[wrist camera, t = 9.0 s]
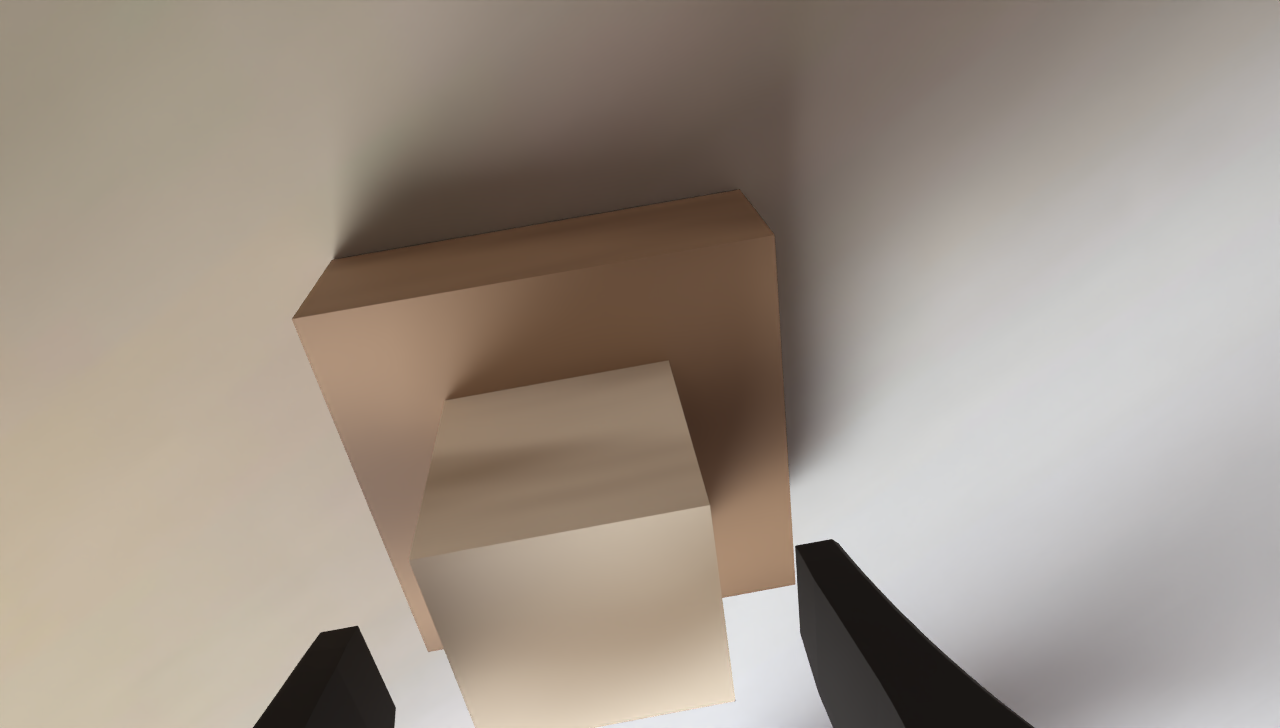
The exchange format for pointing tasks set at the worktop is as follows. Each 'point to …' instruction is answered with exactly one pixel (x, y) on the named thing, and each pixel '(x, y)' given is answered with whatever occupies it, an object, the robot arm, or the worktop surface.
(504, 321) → the walnut base
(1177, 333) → the worktop surface
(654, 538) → the birch block
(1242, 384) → the worktop surface
